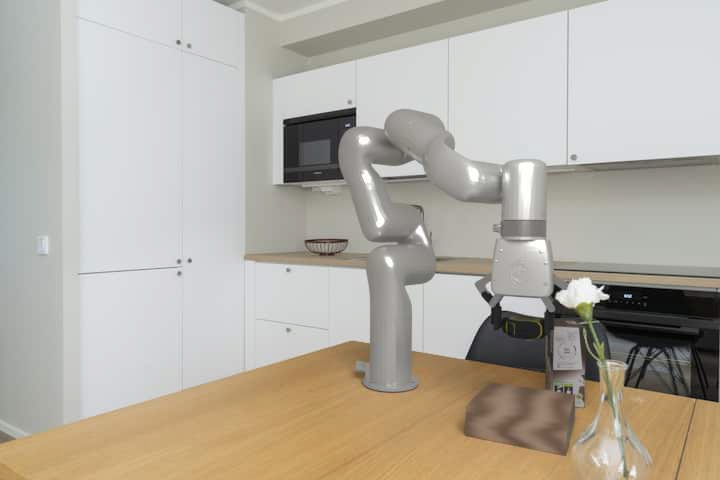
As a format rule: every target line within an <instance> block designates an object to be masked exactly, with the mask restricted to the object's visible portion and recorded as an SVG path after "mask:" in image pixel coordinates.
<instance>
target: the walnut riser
mask: <svg viewBox="0 0 720 480" xmlns="http://www.w3.org/2000/svg"><path fill="white" fill-rule="evenodd" d="M464 421H465V429H464V430H465V431H464V432H465V433H464V435H465V437H469V438H470V437H471V438H476V439H481V440H485V441H490V442H495V443H500V444H505V445H510V446H515V447H519V448H525V449H530V450H536V451H540V452H544V453H551V454H554V455H555V454H556V455H559V456H564V457H566V456H567V453H568V449H569V445H570V441H571V437H572V433H573V429H574V427H575V426H574V425H575V422H576V407H575V394H569V393H562V392H555V391H549V390H545V389H542V388H541V389H540V388H535V387H534V388H533V387H526V386H519V385H515V384H514V385H513V384H507V383H506V384H505V383H501V382H500V383H499V382H492V381H487V383H486V384H484V386H483V387H482V388H481V389H480V390H479V391H478V392H477V393H476V395H475V396H473V398H472V399H471V400H470V401H469V402H468V403H467V404H466V405H465V420H464Z"/></svg>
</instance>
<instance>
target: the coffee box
mask: <svg viewBox="0 0 720 480" xmlns="http://www.w3.org/2000/svg"><path fill="white" fill-rule="evenodd" d="M578 323H580V321H578V320H577V319H567V318H566V319H563V318H560V319H559V318H558V319H556V318H555V327H554V330H551V333H550V334H549V336H548V335H545V389H544V390H549V391H555V392H562V393H569V394H575V408H585V391H586V388H585V387H586V386H585V385H586V352H587V343H585V339H584V336H583V328H585V330H586V331H587V326H585V325H583V324H582V325H580V324H578Z"/></svg>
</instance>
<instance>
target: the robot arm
mask: <svg viewBox="0 0 720 480" xmlns="http://www.w3.org/2000/svg"><path fill="white" fill-rule="evenodd" d="M455 148H456V140H455V137H454V136H453V134H452V133H451V132H450V131H448V130H446V127H445V124H444V123H443V120H442V119H441V118H440V117H438V116H437V115H435V114H432V113H428V112H426V111H425V112H424V111H420V110H415V109H410V108H401V109H399V108H398V109H396V110H394V111H392V112H391V113H389V115H388V116H386V119H385V121H384V124H383V128H380V127H376V126H375V127H374V126H364V125H363V126H362V125H359V126H354V127H350V128H349V129H347V130H346V131H345V132H344V134H343V135H342V136H341V138H340V142H339V145H338V154H337V155H338V157H337V158H338V165H339V168H340V172H341V175H342V177H343V179H344V181H345V184H346V186H347V188H348V190H349V194H350V196H351V198H352V202H353V206H354V210H355V213H356V217H357V219H358V224H359V227H360V230H361V233H362V235H363V236H364V238H365V239H366V240H367V241H369V242H370V243H371V242H372V243H380V244H381V243H382V244H383V243H387V244H383V245H380V246H377V247H375V248H373V249H372V250H371V251H370V252H369V253H368V254H367V257H366V260H365V261H366V262H365V273H366V279H367V284H368V292H369V293H368V294H369V361H367V362H366V361H364V360H356V362H355V371H356V372H364V374H365V375H364V376H363V377H362V384H363V385H364V387H366V388H368V389H370V390H373V391H376V392H377V391H378V392H384V393H385V392H386V393H387V392H388V393H398V392H399V393H400V392H407V391H411V390H414V389H416V388H417V387H418V386H419V378H418V377H417V376H416V375H414V374H413V373H412V371H413V370H412V367H413V364H412V363H413V362H412V360H413V358H412V357H413V356H412V350H413V346H412V345H413V316H412V315H413V307H412V301H411V298H410V296H409V294H408V291H407V288H406V286H416V285H423V284H427V283H429V282H431V280H432V279H433V278H434V276H435V275H436V272H437V258H436V253H435V250H434V248H433V244H432V241H431V239H430V236H429V232H428V230H427V226H426V224H425V223H426V222H425V221H424V218H423V216H422V214H421V213H420V211H419V210H418V209H417V208H416V207H414V206H413V204H412V205H411V204H409V203H405V202H404V203H402V202H394V201H393V200H391V198H390V195H389V193H388V190H387V185H386V184H385V181H384V180H383V178H382V176H381V175H380V174H379V173H378V172H377V171H376V169H375V168H374V167H373V166H372V164H373V165H381V166H389V167H398V166H403V165H407V164H408V163H411V162H414V161H416V162H417V163H419V164H420V165H421V166H422V167H423V171H424V173H425V175H426V178H427V179H428V181H430V183H431V184H433V185H434V186H435V187H437V188H438V189H439V190H440V191H442V192H443V193H445V195H448V196H449V197H451V198H453V199H455V200H457V201H459V202H463V203H469V204H470V203H471V204H472V203H474V204H475V203H476V204H483V205H484V204H486V205H487V204H489V205H499V204H500V205H501V217H500V218H501V219H500V221H499V223H497V224H493V226H492V232H494V233H499V235H500V238H496V239H495V243H494V246H493V247H494V249H493V256H492V263H491V272H490V273H488V274H486V275H485V276H483V277H482V278H480V279H479V280H477V281H476V282H475V283H474V286H475V288H476V289H477V291H478V292H479V294H480V295H481V298H482V299H483V300H484V301H485V302H486V303H487V304H488V306H489V307H490V324H491V325H493V331H498V330H500V329H502V328H501V325H502V319H503V316H502V315H503V314H502V312H503V311H502V310H503V307H502V305H501V301H502V300H503V298H504V297H511V298H512V297H514V298H515V297H517V298H529V299H541V301H542V303H543V305H544V306H545V311H544V313H543V315H544V316H543V320H544V334H545V336H546V335H548V336H549V334H550V333H551V330H554V327H555V320H556V315H555V314H556V310H558V309H559V308H560V307H561V306H562V305H563V304H560V303H559V302H558V301H557V300H556V299H555V300H554V298H553V297H552V294H553V293H554V290H555V285H556V286H557V287H558V288H559V289H561V290H562V291H563V290H566V289H567V287H568V284H569V283H568V282H567V281H566V280H564V279H563V278H561V277H560V276H558V275H557V274H555V268H554V267H555V265H554V264H555V263H554V256H553V255H554V254H553V246H552V242H551V239H547V222H548V221H547V217H548V215H547V214H548V213H547V209H548V167H547V164H546V162H545V161H543V160H541V159H535V158H520V159H512V160H508V161H506V162H505V163H504V164H499V163H492V162H487V161H481V160H472V159H470V158H467V157H465V156H463V155H462V154H460V153H459V152H458V151H455ZM388 243H396V244H388ZM489 283H490V290H491V292H492V293H493V294H492V293H491V292H490V291H489V290H488V289H487V287H486V286H487V285H488V284H489Z"/></svg>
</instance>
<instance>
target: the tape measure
mask: <svg viewBox="0 0 720 480" xmlns="http://www.w3.org/2000/svg"><path fill="white" fill-rule="evenodd" d="M500 329H501V330H502V334H503V333H505V334H506V335H507V336H508V337H509V338H514V339H521V340H523V341H524V342H535V341H536V340H541V339H544V338H546V335H545V334H544V318H538V317H531V316H502V325H501V328H500Z"/></svg>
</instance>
